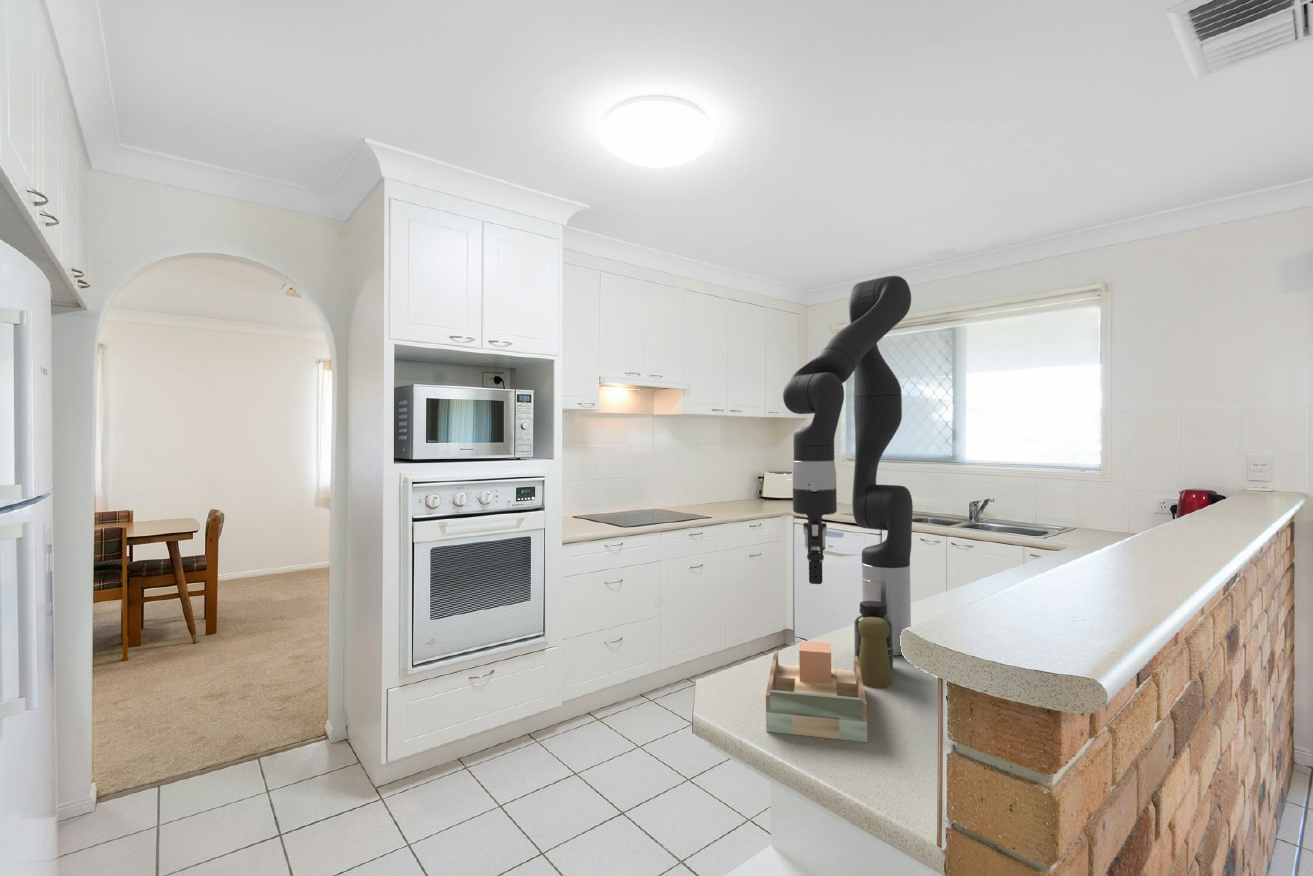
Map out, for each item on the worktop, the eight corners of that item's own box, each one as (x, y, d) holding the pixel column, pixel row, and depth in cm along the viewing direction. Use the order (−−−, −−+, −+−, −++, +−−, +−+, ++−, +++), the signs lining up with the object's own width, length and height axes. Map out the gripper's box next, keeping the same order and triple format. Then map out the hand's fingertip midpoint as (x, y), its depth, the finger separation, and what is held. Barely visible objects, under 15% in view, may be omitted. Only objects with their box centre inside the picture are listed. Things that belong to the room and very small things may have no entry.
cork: (887, 675, 111) (886, 614, 111) (897, 688, 105) (896, 623, 105) (853, 674, 111) (852, 613, 112) (860, 687, 105) (859, 623, 106)
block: (800, 670, 106) (800, 641, 106) (830, 672, 104) (830, 643, 104) (799, 681, 101) (799, 650, 101) (831, 684, 99) (831, 653, 99)
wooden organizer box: (774, 680, 109) (774, 647, 109) (857, 687, 106) (857, 653, 106) (766, 731, 90) (765, 691, 90) (867, 742, 86) (866, 700, 86)
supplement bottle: (899, 675, 111) (898, 608, 111) (861, 675, 111) (860, 608, 111) (886, 661, 118) (885, 598, 118) (850, 661, 118) (849, 599, 118)
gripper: (793, 483, 117) (794, 569, 117) (791, 489, 103) (792, 586, 103) (834, 483, 115) (835, 571, 115) (838, 489, 101) (839, 588, 101)
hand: (815, 578), depth 109 cm, fingers open, 8 cm apart
